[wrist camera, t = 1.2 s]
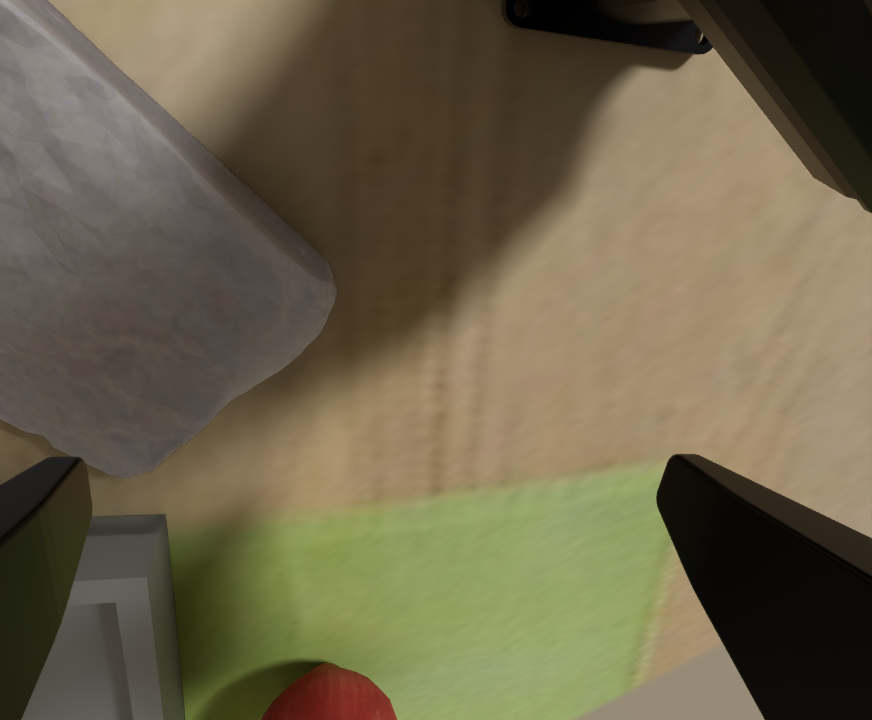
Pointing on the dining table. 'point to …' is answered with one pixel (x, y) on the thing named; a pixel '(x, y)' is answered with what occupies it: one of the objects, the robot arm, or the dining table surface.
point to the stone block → (129, 260)
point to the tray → (116, 631)
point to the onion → (331, 697)
